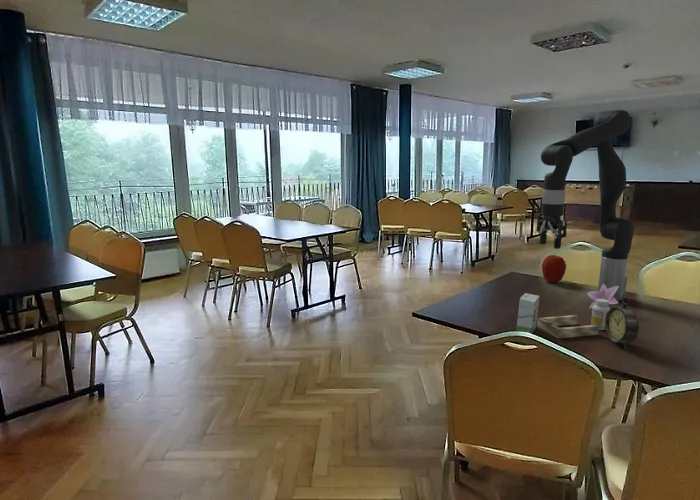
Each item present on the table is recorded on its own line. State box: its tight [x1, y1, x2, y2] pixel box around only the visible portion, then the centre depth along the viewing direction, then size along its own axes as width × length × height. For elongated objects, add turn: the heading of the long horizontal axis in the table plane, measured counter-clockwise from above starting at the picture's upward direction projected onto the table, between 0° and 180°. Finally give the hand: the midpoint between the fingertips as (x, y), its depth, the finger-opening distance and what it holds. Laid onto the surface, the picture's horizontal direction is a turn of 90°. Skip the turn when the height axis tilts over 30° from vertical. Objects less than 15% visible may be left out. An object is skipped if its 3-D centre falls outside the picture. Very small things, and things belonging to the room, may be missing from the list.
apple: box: [541, 254, 567, 284], centre depth 214 cm, size 10×10×14 cm
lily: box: [586, 284, 619, 309], centre depth 177 cm, size 12×12×10 cm
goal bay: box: [536, 314, 600, 339], centre depth 156 cm, size 15×11×3 cm
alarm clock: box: [605, 293, 640, 351], centre depth 143 cm, size 11×5×16 cm, turn 0°
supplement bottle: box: [590, 299, 611, 331], centre depth 158 cm, size 5×5×10 cm
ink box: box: [515, 292, 540, 334], centre depth 155 cm, size 9×5×12 cm, turn 148°
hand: (549, 246), depth 170 cm, fingers open, 8 cm apart
